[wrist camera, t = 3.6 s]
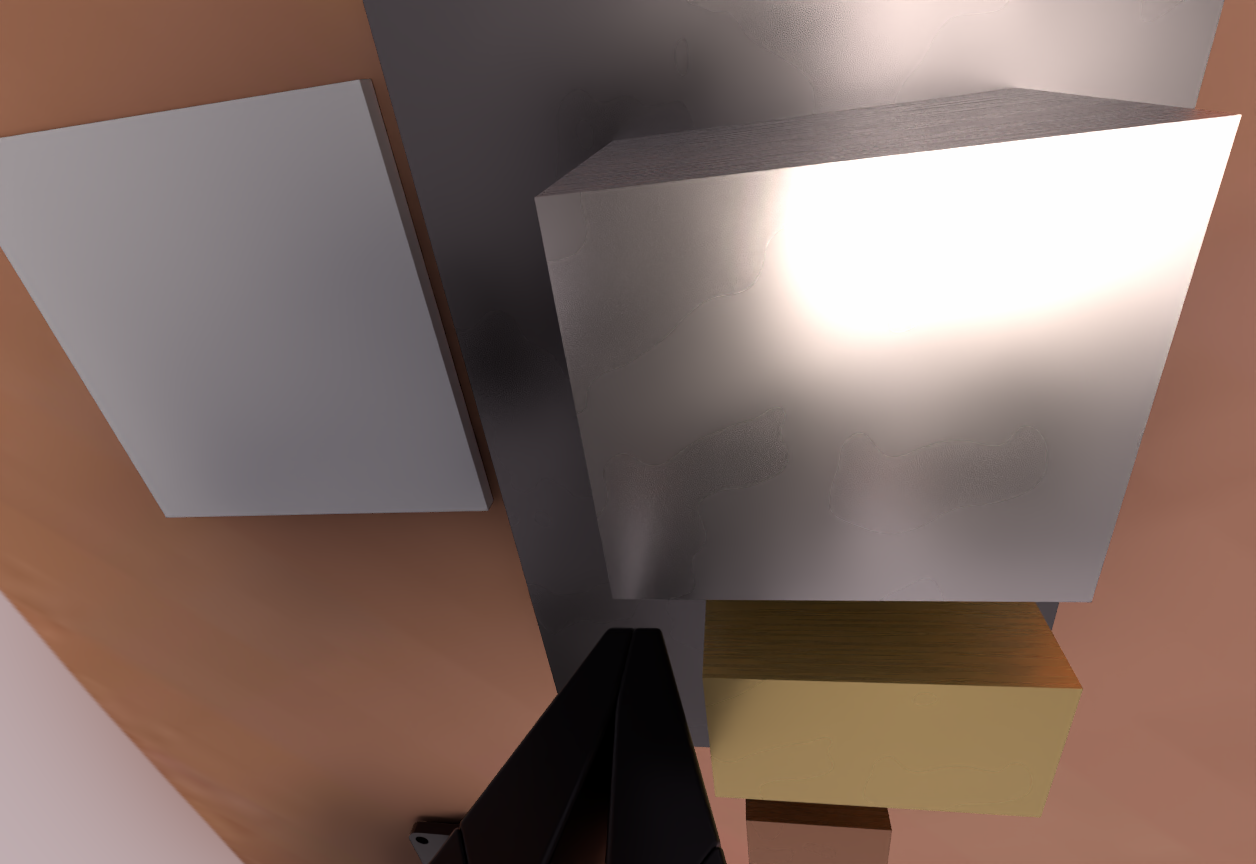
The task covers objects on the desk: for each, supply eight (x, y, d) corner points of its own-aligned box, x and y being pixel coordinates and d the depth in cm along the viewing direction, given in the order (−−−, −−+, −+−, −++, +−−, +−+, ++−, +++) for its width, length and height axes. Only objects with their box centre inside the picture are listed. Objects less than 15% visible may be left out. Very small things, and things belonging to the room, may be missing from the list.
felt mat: (493, 500, 15) (488, 511, 15) (177, 508, 17) (166, 517, 17) (371, 78, 11) (359, 79, 11) (-39, 145, 13) (-61, 147, 12)
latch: (947, 587, 11) (1040, 817, 8) (720, 587, 12) (714, 796, 9) (964, 474, 10) (1082, 689, 7) (711, 482, 11) (702, 677, 7)
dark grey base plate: (977, 667, 16) (1079, 922, 11) (590, 658, 18) (539, 873, 13) (1199, -428, 7) (2092, -1349, 2) (385, -218, 9) (8, -511, 4)
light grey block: (968, 414, 10) (1091, 602, 6) (650, 427, 11) (612, 598, 7) (1016, 86, 8) (1241, 114, 4) (612, 140, 9) (534, 196, 5)
